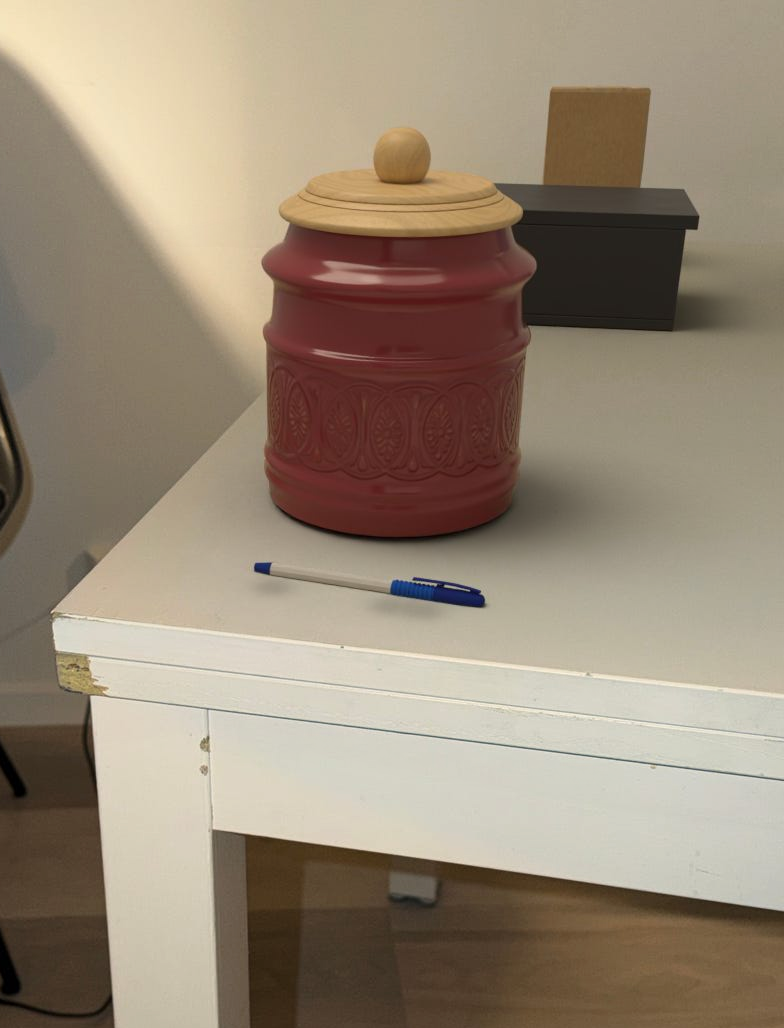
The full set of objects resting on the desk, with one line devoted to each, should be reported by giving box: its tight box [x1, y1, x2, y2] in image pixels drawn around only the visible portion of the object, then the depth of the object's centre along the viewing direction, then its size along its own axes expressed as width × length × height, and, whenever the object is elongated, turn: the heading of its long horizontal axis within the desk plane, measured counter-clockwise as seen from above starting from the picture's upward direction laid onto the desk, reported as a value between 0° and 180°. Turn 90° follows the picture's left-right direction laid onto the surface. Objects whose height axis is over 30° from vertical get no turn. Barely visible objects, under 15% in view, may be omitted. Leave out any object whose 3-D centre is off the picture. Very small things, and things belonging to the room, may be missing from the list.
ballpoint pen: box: [253, 561, 486, 608], centre depth 57 cm, size 10×1×1 cm, turn 71°
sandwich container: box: [541, 85, 652, 188], centre depth 121 cm, size 9×15×15 cm, turn 170°
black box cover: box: [493, 182, 700, 231], centre depth 100 cm, size 15×13×1 cm
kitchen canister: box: [260, 126, 537, 538], centre depth 63 cm, size 13×13×18 cm
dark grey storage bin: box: [511, 224, 687, 332], centre depth 102 cm, size 15×13×7 cm
